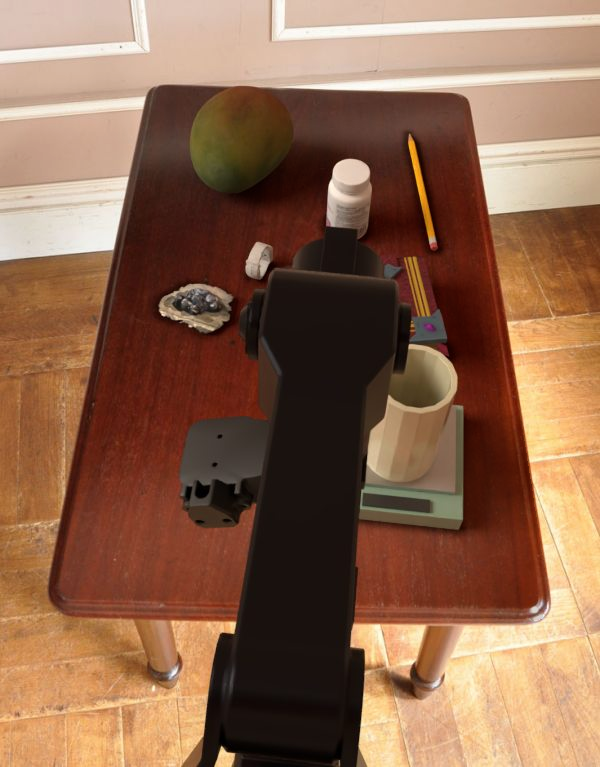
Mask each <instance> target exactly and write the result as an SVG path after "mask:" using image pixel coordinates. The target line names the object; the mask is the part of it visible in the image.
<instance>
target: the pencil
mask: <svg viewBox="0 0 600 767" xmlns="http://www.w3.org/2000/svg"><path fill="white" fill-rule="evenodd" d="M407 143H408V144H407V145H408V148H409V153H410V157H411V163H412V167H413V172H414V177H415V181H416V186H417V191H418V195H419V199H420V204H421V209H422V214H423V219H424V224H425V228H426V233H427V237H428V242H429V247H430V250H431V251H432V252H436V251H437V250H438V249H439V246H438V242H437V238H436V233H435V230H434V225H433V224H434V223H433V219H432V215H431V210H430V207H429V201H428V196H427V193H426V188H425V183H424V179H423V174H422V169H421V164H420V161H419V156H418V150H417V147H416V143H415V140H414V139H413V137H412V135H411V133H409V134H408V142H407Z"/></svg>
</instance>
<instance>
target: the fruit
mask: <svg viewBox="0 0 600 767" xmlns="http://www.w3.org/2000/svg"><path fill="white" fill-rule="evenodd" d="M294 132H295V130H294V123H293V119H292V115H291V114H290V111H289V109H288V108H287V106H286V105H285V104H284V102H282V101H281V100H280V98H278V97H277V95H274V94H272V93H271V92H269V91H267V90H266V89H262V88H260V87H257V86H252V85H235V86H232V87H228V88H226V89H224V90H222V91H219V92H217V93H216V94H215V95H213V96H212V97H211V98H209V99H208V100H206V102H205V103H204V104H203V105H202V106H201V108H200V109H199V111H198V112H197V113H196V116H195V117H194V120H193V123H192V126H191V131H190V135H189V136H190V137H189V154H190V159H191V162H192V166H193V169H194V171H195V173H196V175H197V177H199V179H200V180H201V181H202V182H203V183H204V184H205V185H206V186H207V187H209V188H210V189H212V190H214V191H216V192H218V193H222V194H226V195H233V194H240V193H242V192H244V191H246V190H249V189H251V188H252V187H254V186H255V185H257V184H258V183H260V182H261V181H262V180H264V179H265V178H267V177H268V176H269V175H270V174H271V173H272V172H273V171H274V170H275V169H276V168H277V167H278V166H279V165H280V164H281V163H282V162H283V161H284V159H285V158H286V157H287V155H288V154H289V151H290V150H291V147H292V144H293V141H294Z"/></svg>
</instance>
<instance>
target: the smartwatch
mask: <svg viewBox="0 0 600 767" xmlns="http://www.w3.org/2000/svg"><path fill="white" fill-rule="evenodd" d="M273 260H274V248H273V246H271V245H269V244H266V243H264V242H261V241H256V242H255V243H254V245H253V247H252V248H251V250H250V253H249V256H248V258H247V259H246V260H245V273H246V275H247V276H248V277H249V278H251V279H255V280H259V281H260V280H261V279H263V277H264V276H265V274H266V272H267V269H268V268H269V265H270V263H271V262H273Z"/></svg>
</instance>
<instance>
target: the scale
mask: <svg viewBox="0 0 600 767" xmlns="http://www.w3.org/2000/svg"><path fill="white" fill-rule="evenodd" d="M359 520H364V521H373V522H383V523H390V524H391V523H392V524H399V525H410V526H418V527H419V526H420V527H428V528H437V529H438V528H439V529H446V530H455V531H456V530H457V531H459V530H460V528H461V525H462V523H463V521H464V405H459V404H458V405H457V404H452V407H451V410H450V413H449V416H448V420H447V423H446V426H445V429H444V432H443V435H442V438H441V441H440V445H439V448H438V451H437V454H436V457H435V460H434V461H433V464H432V466H431V468H430V469H429V470H428V472H427V473H426V474H424V475H423V476H422V477H420V478H418V479H416V480H413V481H410V482H393V481H389V480H386V479H384V478H382V477H380V476H379V475H377V474H376V473H375V472H374V471H373V470H372V469H371V468H370V467H369V466H368V464H367V469H366V482H365V487H364V489H362V490H361V503H360V514H359Z"/></svg>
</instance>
